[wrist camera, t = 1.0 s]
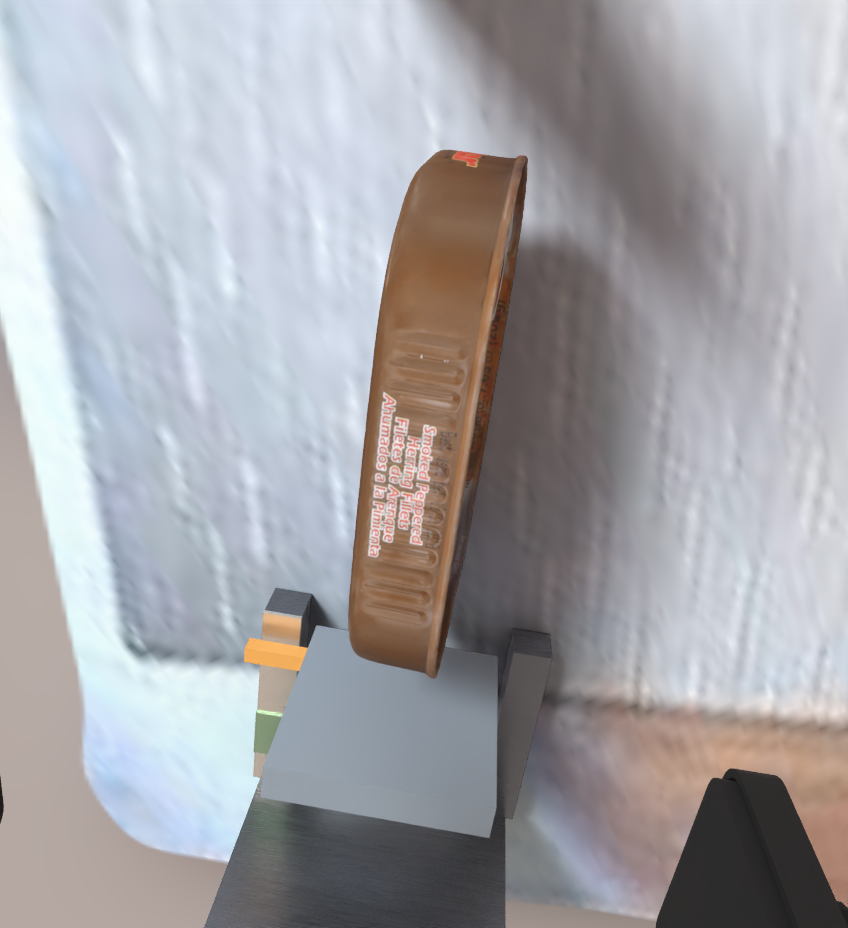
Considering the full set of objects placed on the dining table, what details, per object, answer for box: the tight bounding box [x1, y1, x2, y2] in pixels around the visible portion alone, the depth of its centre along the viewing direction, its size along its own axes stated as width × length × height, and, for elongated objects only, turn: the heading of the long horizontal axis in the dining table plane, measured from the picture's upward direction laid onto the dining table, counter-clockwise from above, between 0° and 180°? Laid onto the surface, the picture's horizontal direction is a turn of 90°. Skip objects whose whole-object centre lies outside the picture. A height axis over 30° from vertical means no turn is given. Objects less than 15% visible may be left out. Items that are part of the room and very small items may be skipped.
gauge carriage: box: [244, 625, 498, 838], centre depth 26 cm, size 9×1×7 cm, turn 82°
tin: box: [348, 150, 528, 679], centre depth 22 cm, size 15×3×8 cm, turn 172°
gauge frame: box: [204, 588, 552, 928], centre depth 27 cm, size 11×10×10 cm
